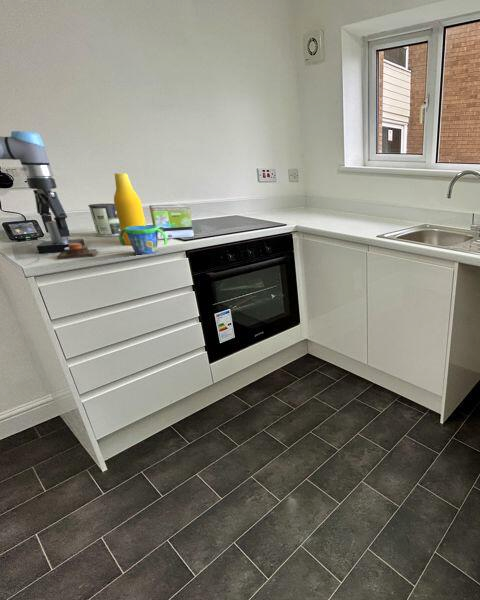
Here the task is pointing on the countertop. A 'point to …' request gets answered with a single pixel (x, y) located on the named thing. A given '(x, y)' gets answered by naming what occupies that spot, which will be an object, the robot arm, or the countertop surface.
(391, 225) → the countertop surface
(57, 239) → the dial
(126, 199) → the beer bottle
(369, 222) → the countertop surface
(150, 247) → the snack cup
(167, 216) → the tea box
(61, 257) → the button block
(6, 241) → the countertop surface
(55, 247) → the control panel
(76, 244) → the button
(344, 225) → the countertop surface
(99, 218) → the coffee can
